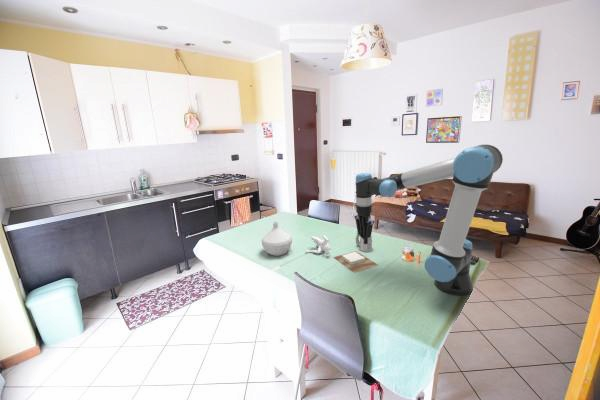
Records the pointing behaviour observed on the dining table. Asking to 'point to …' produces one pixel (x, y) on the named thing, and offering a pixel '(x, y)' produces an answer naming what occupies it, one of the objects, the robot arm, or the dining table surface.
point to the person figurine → (321, 245)
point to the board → (358, 266)
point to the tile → (353, 258)
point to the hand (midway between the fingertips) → (364, 249)
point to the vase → (276, 241)
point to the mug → (369, 245)
